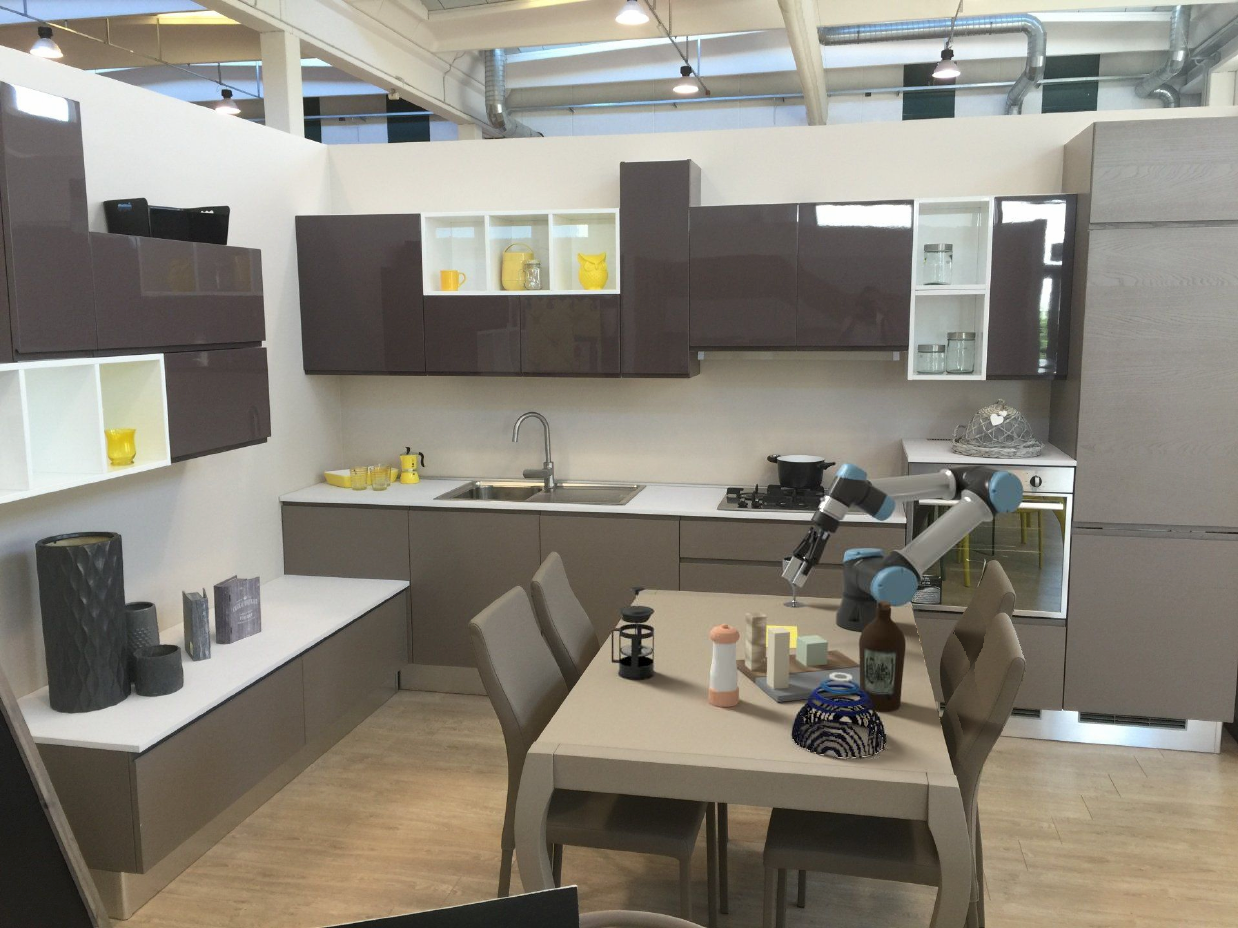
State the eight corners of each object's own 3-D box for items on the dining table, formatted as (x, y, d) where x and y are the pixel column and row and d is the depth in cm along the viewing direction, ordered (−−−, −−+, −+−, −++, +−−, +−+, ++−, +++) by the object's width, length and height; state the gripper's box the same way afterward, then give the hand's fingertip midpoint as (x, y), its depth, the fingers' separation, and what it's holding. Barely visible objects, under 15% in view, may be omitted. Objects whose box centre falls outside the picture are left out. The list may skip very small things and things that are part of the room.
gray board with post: (862, 671, 261) (864, 614, 259) (888, 689, 249) (891, 628, 247) (755, 683, 253) (756, 623, 251) (777, 701, 241) (779, 639, 238)
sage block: (816, 656, 268) (817, 635, 268) (827, 664, 263) (827, 641, 262) (795, 658, 267) (796, 637, 266) (806, 666, 261) (806, 644, 260)
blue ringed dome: (801, 716, 233) (803, 656, 231) (890, 728, 226) (893, 667, 224) (782, 750, 215) (784, 685, 213) (879, 765, 208) (881, 698, 206)
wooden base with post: (837, 655, 274) (838, 600, 272) (861, 671, 262) (863, 613, 260) (734, 665, 266) (735, 608, 264) (754, 682, 254) (755, 622, 251)
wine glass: (805, 601, 327) (807, 556, 325) (807, 608, 319) (809, 562, 317) (780, 600, 328) (782, 555, 326) (782, 607, 320) (783, 561, 318)
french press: (658, 668, 264) (659, 583, 261) (655, 680, 255) (656, 592, 252) (614, 666, 266) (614, 581, 262) (609, 678, 256) (609, 591, 253)
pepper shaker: (702, 698, 244) (704, 621, 241) (729, 693, 246) (730, 618, 244) (717, 708, 237) (718, 630, 234) (744, 704, 240) (746, 626, 237)
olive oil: (860, 693, 247) (863, 594, 243) (904, 699, 243) (909, 598, 239) (854, 709, 237) (857, 606, 233) (900, 715, 233) (905, 610, 230)
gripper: (806, 505, 292) (770, 569, 292) (829, 511, 267) (789, 581, 267) (829, 518, 293) (793, 582, 292) (853, 525, 268) (813, 594, 267)
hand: (791, 581), depth 280 cm, fingers open, 13 cm apart
